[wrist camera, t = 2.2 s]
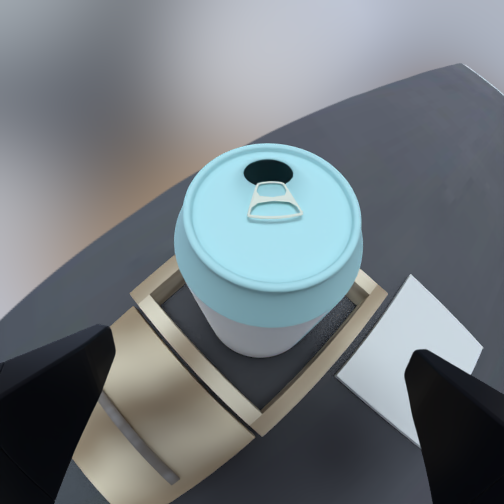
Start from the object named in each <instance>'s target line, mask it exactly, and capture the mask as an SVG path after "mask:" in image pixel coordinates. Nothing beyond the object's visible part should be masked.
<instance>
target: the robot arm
mask: <svg viewBox="0 0 504 504" xmlns="http://www.w3.org/2000/svg"><path fill="white" fill-rule="evenodd" d="M115 354H116V347H115V343H114V338H113V334H112V330H111V328H110V327H109V326H106V325H101V324H97V325H94V326H92V327H89V328H87V329H84V330H82V331H79V332H77V333H74V334H72V335H70V336H67V337H65V338H62V339H60V340H57V341H55V342H52V343H50V344H47V345H45V346H42V347H40V348H37V349H35V350H32V351H30V352H27V353H25V354H22V355H20V356H17V357H15V358H12V359H10V360H7V361H6V362H2V363H0V504H54V503H55V499H56V497H57V494H58V491H59V489H60V486H61V483H62V481H63V478H64V476H65V473H66V471H67V468H68V466H69V464H70V461H71V459H72V457H73V454H74V452H75V450H76V447H77V445H78V443H79V440H80V438H81V436H82V434H83V431H84V429H85V427H86V425H87V423H88V421H89V418H90V416H91V414H92V412H93V410H94V408H95V406H96V404H97V402H98V400H99V397H100V395H101V393H102V390H103V387H104V385H105V382H106V379H107V376H108V374H109V371H110V368H111V366H112V363H113V360H114V358H115ZM404 379H405V383H406V388H407V393H408V398H409V403H410V408H411V413H412V418H413V421H414V425H415V429H416V432H417V436H418V439H419V443H420V447H421V451H422V455H423V459H424V463H425V467H426V472H427V476H428V481H429V486H430V491H431V496H432V501H433V504H504V394H502V393H500V392H499V391H497V390H495V389H494V388H492V387H490V386H488V385H487V384H485V383H483V382H482V381H480V380H478V379H477V378H475V377H473V376H472V375H470V374H468V373H467V372H465V371H463V370H461V369H460V368H458V367H456V366H455V365H453V364H451V363H450V362H448V361H446V360H444V359H443V358H441V357H439V356H438V355H436V354H434V353H433V352H431V351H429V350H427V349H417V350H415V351H414V352H413V353H412V356H411V358H410V360H409V362H408V365H407V367H406V369H405V372H404Z"/></svg>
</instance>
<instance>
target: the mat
mask: <svg viewBox="0 0 504 504" xmlns="http://www.w3.org/2000/svg"><path fill="white" fill-rule="evenodd" d="M482 348H483V347H482V346H481V345H480V344H479V343H478V341H477V340H476V339H475V338H474V337H473V336H472V335H471V334H470V333H469V332H468V331H467V329H466V328H465V327H464V326H463V325H462V324H461V323H460V322H459V321H458V320H457V319H456V318H455V317H454V316H453V315H452V314H451V313H450V312H449V311H448V310H447V309H446V308H445V307H444V306H443V305H442V304H441V303H440V302H439V301H438V300H437V299H436V298H435V297H434V296H433V295H432V294H431V293H430V292H429V291H428V290H427V289H426V288H425V287H424V286H423V285H422V284H421V283H419V282H418V281H417V280H416V279H415V278H414V277H413V276H412V275H409V276H408V277H407V278H406V280H405V282H404V283H403V285H402V286H401V288H400V289H399V291H398V292H397V294H396V295H395V297H394V298H393V300H392V301H391V303H390V304H389V306H388V307H387V309H386V310H385V311H384V313H383V314H382V316H381V317H380V318H379V320H378V321H377V323H376V324H375V325H374V327H373V328H372V329H371V331H370V332H369V333H368V335H367V336H366V337H365V339H364V340H363V341H362V342H361V344H360V345H359V346H358V348H357V349H356V350H355V351H354V353H353V354H352V355H351V356H350V358H349V359H348V360H347V361H346V362H345V364H344V365H343V366H342V367H341V368H340V370H339V371H338V372H337V373H336V374H335V375H334V376H335V377H336V378H337V379H338V380H339V381H340V382H341V383H343V384H344V385H345V386H346V387H347V388H348V389H349V390H351V391H352V392H353V393H354V394H355V395H356V396H358V397H359V398H360V399H361V400H362V401H363V402H365V403H366V404H367V405H368V406H369V407H370V408H372V409H373V410H374V411H375V412H376V413H377V414H379V415H380V416H381V417H382V418H383V419H385V420H386V421H387V422H388V423H389V424H391V425H392V426H393V427H394V428H395V429H397V430H398V431H399V432H400V433H402V434H403V435H404V436H405V437H406V438H408V439H409V440H410V441H411V442H413V443H414V444H415V445H416V446H418V447H419V448H420V449H421V447H420V443H419V439H418V436H417V432H416V429H415V425H414V421H413V418H412V413H411V408H410V403H409V398H408V393H407V388H406V383H405V379H404V372H405V369H406V367H407V365H408V362H409V360H410V358H411V356H412V353H413V352H414V351H415V350H417V349H427V350H429V351H431V352H433V353H434V354H436V355H438V356H439V357H441V358H443V359H444V360H446V361H448V362H450V363H451V364H453V365H455V366H456V367H458V368H460V369H461V370H463V371H465V372H467V373H468V374H470V375H471V373H472V371H473V369H474V367H475V364H476V362H477V360H478V358H479V355H480V353H481V351H482Z"/></svg>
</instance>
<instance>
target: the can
mask: <svg viewBox="0 0 504 504" xmlns="http://www.w3.org/2000/svg"><path fill="white" fill-rule="evenodd" d="M174 248H175V255H176V260H177V264H178V267H179V270H180V272H181V274H182V276H183V278H184V280H185V282H186V284H187V285H188V287H189V289H190V291H191V293H192V294H193V296H194V298H195V300H196V301H197V303H198V305H199V307H200V308H201V310H202V312H203V314H204V315H205V317H206V319H207V321H208V322H209V324H210V326H211V327H212V329H213V331H214V332H215V334H216V335H217V337H218V338H219V339H220V340H221V341H222V342H223V343H224V344H225V345H226V346H227V347H228V348H230V349H232V350H233V351H235V352H237V353H239V354H242V355H245V356H249V357H256V358H265V357H272V356H276V355H279V354H281V353H283V352H286V351H287V350H289V349H290V348H292V347H293V346H294V345H296V344H297V343H298V342H299V341H300V340H301V339H302V338H303V337H304V336H305V335H306V334H307V333H308V332H309V331H310V330H312V329H313V328H314V327H315V326H316V325H317V324H318V323H319V322H320V321H321V320H322V319H323V318H324V317H325V316H326V315H327V314H328V313H329V312H330V311H331V310H332V309H333V308H334V307H335V306H336V305H337V304H338V303H339V302H340V301H341V300H342V298H343V297H344V296H345V295H346V294H347V292H348V291H349V290H350V288H351V286H352V285H353V283H354V281H355V279H356V277H357V275H358V272H359V269H360V265H361V260H362V253H363V238H362V231H361V212H360V207H359V203H358V200H357V198H356V195H355V193H354V191H353V189H352V188H351V186H350V185H349V183H348V182H347V180H346V179H345V178H344V177H343V176H342V174H341V173H340V172H339V171H338V170H336V169H335V168H334V167H333V166H332V165H330V164H329V163H328V162H326V161H325V160H323V159H322V158H320V157H318V156H316V155H315V154H312V153H310V152H308V151H305V150H303V149H300V148H296V147H293V146H288V145H282V144H254V145H248V146H243V147H239V148H236V149H233V150H231V151H228V152H226V153H224V154H222V155H220V156H218V157H217V158H215V159H214V160H212V161H211V162H209V163H208V164H207V165H206V166H204V167H203V168H202V169H201V170H200V171H199V173H198V174H197V175H196V176H195V178H194V179H193V181H192V182H191V184H190V186H189V188H188V190H187V192H186V195H185V199H184V203H183V207H182V209H181V211H180V213H179V216H178V219H177V223H176V228H175V235H174Z"/></svg>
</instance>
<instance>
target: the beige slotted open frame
mask: <svg viewBox="0 0 504 504" xmlns="http://www.w3.org/2000/svg"><path fill="white" fill-rule="evenodd" d="M184 284H186V282H185V280H184V278H183V276H182V274H181V272H180V270H179V267H178V264H177V260H176V255H174V256H173V257H171V258H170V259H169V260H168V261H167V262H166V263H164V264H163V265H162V266H161V267H160V268H158V269H157V270H156V271H155V272H154V273H153V274H151V275H150V276H149V277H148V278H147V279H146V280H144V281H143V282H142V283H141V284H140V285H139V286H137V287H136V288H135V289H134V290H133V291H132V292H131V293H130V295H131V296H132V297H133V299H134V300H135V301H136V303H137V304H138V305H139V307H140V308H141V309H142V310H143V312H144V313H145V314H146V316H147V317H148V318H149V319H150V321H151V322H152V323H153V324H154V325H155V327H156V328H157V329H158V330H159V332H160V333H161V334H162V335H163V336H164V338H165V339H166V340H167V341H168V342H169V343H170V345H171V346H172V347H173V348H174V349H175V350H176V352H177V353H178V354H179V355H180V356H181V357H182V358H183V359H184V361H185V362H186V363H187V364H188V365H189V366H190V367H191V368H192V369H193V370H194V371H195V373H196V374H197V375H198V376H199V377H200V378H201V379H202V380H203V381H204V382H205V383H206V384H207V385H208V386H209V387H210V388H211V389H212V390H213V391H214V392H215V393H216V394H217V395H218V396H219V397H220V398H221V399H222V400H223V401H224V402H225V403H226V404H227V405H228V406H229V407H230V408H231V409H232V410H233V411H234V412H235V413H236V414H237V415H238V416H239V417H241V418H242V419H243V420H244V421H245V422H246V423H247V424H248V425H249V426H250V427H252V428H253V429H254V430H255V431H256V432H257V433H258V434H259V435H261V436H262V437H263V436H264V435H265V434H266V433H267V432H268V431H269V430H271V429H272V428H273V427H274V426H275V425H276V424H277V423H278V422H279V421H280V420H281V419H282V418H283V417H284V416H285V415H286V414H287V413H288V412H289V411H290V410H291V409H292V408H293V407H294V406H295V405H296V404H297V403H298V402H299V401H300V400H301V399H302V398H303V397H304V396H305V395H306V394H307V393H308V392H309V391H310V390H311V389H312V388H313V387H314V385H315V384H316V383H317V382H318V381H319V380H320V379H321V378H322V377H323V376H324V374H325V373H326V372H327V371H328V370H329V369H330V368H331V366H332V365H333V364H334V363H335V362H336V361H337V359H338V358H339V357H340V356H341V355H342V354H343V352H344V351H345V350H346V349H347V348H348V346H349V345H350V344H351V343H352V341H353V340H354V339H355V338H356V336H357V335H358V334H359V333H360V331H361V330H362V329H363V327H364V326H365V325H366V323H367V322H368V321H369V319H370V318H371V317H372V315H373V314H374V313H375V311H376V310H377V309H378V307H379V306H380V305H381V303H382V302H383V300H384V299H385V297H386V296H387V295H388V293H387V292H386V291H385V290H383V289H382V288H381V287H380V286H379V285H378V284H377V283H376V282H374V281H373V280H372V279H371V278H370V277H369V276H368V275H367V274H365V273H364V272H363V271H362V270H361V269H359V272H358V275H357V277H356V279H355V281H354V283H353V285H352V286H351V288H350V290H349V291H348V292H347V294H346V295H345V296H346V297H348V298H349V299H350V300H351V301H352V302H353V303H354V304H355V305H357V306H356V307H355V309H354V310H353V311H352V312H351V314H350V315H349V316H348V317H347V319H346V320H345V321H344V322H343V323H342V325H341V326H340V327H339V328H338V329H337V331H336V332H335V333H334V334H333V335H332V336H331V338H330V339H329V340H328V341H327V342H326V343H325V344H324V346H323V347H322V348H321V349H320V350H319V351H318V352H317V353H316V354H315V356H314V357H313V358H312V359H311V360H310V361H309V362H308V363H307V364H306V365H305V366H304V368H303V369H302V370H301V371H300V372H299V373H298V374H297V375H296V376H295V377H294V378H293V379H292V380H291V381H290V382H289V383H288V384H287V385H286V386H285V387H284V388H283V389H282V390H281V391H280V392H279V393H278V394H277V395H276V396H275V397H274V398H273V399H272V400H271V401H270V402H269V403H268V404H267V405H266V406H265V407H264V408H263V409H262V410H259V409H258V408H257V407H256V406H255V405H254V404H253V403H252V402H251V401H250V400H248V399H247V398H246V397H245V396H244V395H243V394H242V393H241V392H240V391H239V390H238V389H237V388H236V387H235V386H234V385H233V384H232V383H231V382H230V381H229V380H228V379H227V378H226V377H225V376H224V375H223V374H222V373H221V372H220V371H219V370H218V369H217V368H216V367H215V366H214V365H213V364H212V363H211V362H210V361H209V360H208V359H207V358H206V357H205V356H204V355H203V354H202V352H201V351H200V350H199V349H198V348H197V347H196V346H195V345H194V344H193V343H192V342H191V341H190V339H189V338H188V337H187V336H186V335H185V334H184V333H183V332H182V331H181V329H180V328H179V327H178V326H177V325H176V324H175V323H174V321H173V320H172V319H171V318H170V317H169V316H168V314H167V313H166V312H165V311H164V310H163V308H162V307H161V306H160V305H162V304H163V303H164V302H165V301H166V300H167V299H168V298H170V297H171V296H172V295H173V294H174V293H175V292H176V291H178V290H179V289H180V288H181V287H182V286H183V285H184ZM110 328H111V330H112V334H113V338H114V343H115V347H116V354H115V358H114V360H113V363H112V366H111V368H110V371H109V374H108V376H107V379H106V382H105V385H104V387H103V390H102V393H101V395H100V397H99V400H98V402H97V404H96V406H95V408H94V410H93V412H92V414H91V416H90V418H89V421H88V423H87V425H86V427H85V429H84V431H83V434H82V436H81V438H80V440H79V443H78V445H77V447H76V450H75V452H74V454H73V457H72V459H73V460H74V461H75V463H76V464H77V465H78V466H79V468H80V469H81V470H82V471H83V473H84V474H85V475H86V476H87V478H88V479H89V480H90V481H91V482H92V484H93V485H94V486H95V487H96V488H97V489H98V490H99V492H100V493H101V494H102V495H103V496H104V497H105V498H106V499H107V500H108V501H109V502H110V503H111V504H169V503H170V502H172V501H173V500H175V499H176V498H178V497H179V496H181V495H182V494H184V493H185V492H187V491H188V490H190V489H191V488H192V487H194V486H195V485H197V484H198V483H199V482H201V481H202V480H204V479H205V478H206V477H208V476H209V475H210V474H212V473H213V472H214V471H215V470H217V469H218V468H219V467H221V466H222V465H223V464H224V463H226V462H227V461H228V460H229V459H231V458H232V457H233V456H234V455H236V454H237V453H238V452H239V451H240V450H241V449H243V448H244V447H245V446H246V445H247V444H249V443H250V442H251V441H252V440H253V439H254V438H255V435H254V434H253V433H252V432H250V431H249V430H248V429H247V428H246V427H245V426H244V425H243V424H242V423H240V422H239V421H238V420H237V419H236V418H235V417H234V416H233V415H232V414H231V413H230V412H229V411H228V410H227V409H226V408H225V407H224V406H223V405H222V404H220V403H219V402H218V401H217V400H216V399H215V398H214V397H213V396H212V395H211V394H210V392H209V391H208V390H207V389H206V388H205V387H204V386H203V385H202V384H201V383H200V382H199V381H198V380H197V379H196V378H195V377H194V376H193V375H192V374H191V373H190V371H189V370H188V369H187V368H186V367H185V366H184V365H183V364H182V363H181V361H180V360H179V359H178V358H177V357H176V356H175V355H174V354H173V352H172V351H171V350H170V349H169V348H168V347H167V345H166V344H165V343H164V342H163V341H162V339H161V338H160V337H159V336H158V335H157V333H156V332H155V331H154V330H153V328H152V327H151V326H150V325H149V324H148V322H147V321H146V320H145V318H144V317H143V316H142V315H141V313H140V312H139V311H138V309H137V308H135V307H134V306H133V307H131V308H130V309H129V310H128V311H127V312H126V313H125V314H124V315H122V316H121V317H120V318H119V319H118V320H117V321H116V322H115V323H114V324H112V325H111V326H110Z"/></svg>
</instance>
